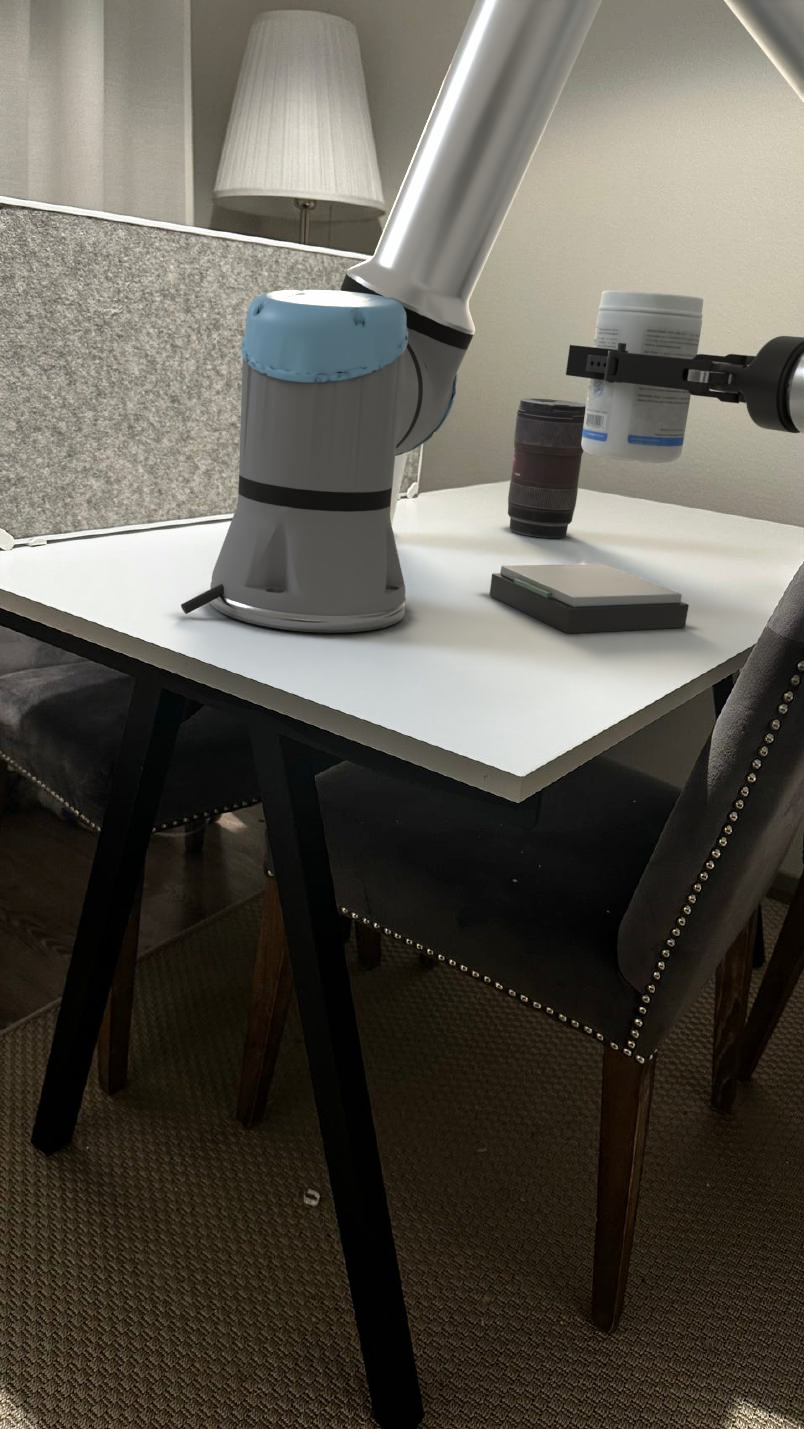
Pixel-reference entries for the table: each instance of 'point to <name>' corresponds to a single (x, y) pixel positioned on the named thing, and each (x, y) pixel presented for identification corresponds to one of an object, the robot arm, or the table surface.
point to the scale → (588, 598)
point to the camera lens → (545, 466)
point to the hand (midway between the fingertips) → (607, 363)
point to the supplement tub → (636, 413)
